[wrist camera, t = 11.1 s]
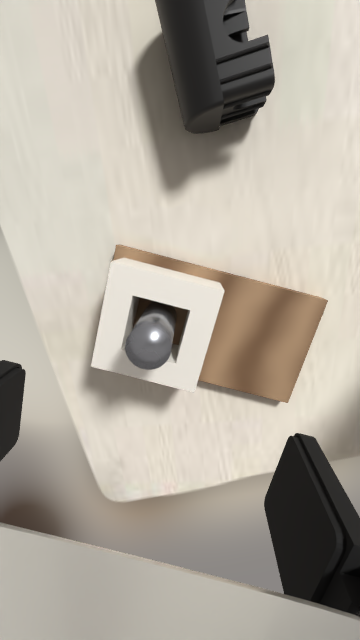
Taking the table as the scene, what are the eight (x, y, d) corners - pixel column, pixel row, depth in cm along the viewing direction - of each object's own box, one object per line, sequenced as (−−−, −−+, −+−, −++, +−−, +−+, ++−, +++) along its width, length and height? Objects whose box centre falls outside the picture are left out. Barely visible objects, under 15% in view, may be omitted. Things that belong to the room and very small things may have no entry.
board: (321, 297, 33) (327, 300, 31) (283, 396, 36) (287, 402, 34) (119, 244, 32) (116, 245, 31) (99, 349, 35) (95, 353, 34)
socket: (220, 282, 31) (224, 290, 27) (194, 370, 34) (194, 392, 29) (123, 257, 31) (110, 261, 26) (105, 347, 34) (90, 366, 29)
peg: (180, 304, 32) (175, 332, 22) (172, 334, 33) (165, 374, 23) (148, 296, 32) (130, 321, 22) (141, 327, 33) (121, 363, 23)
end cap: (157, 20, 27) (146, -48, 21) (237, -8, 26) (251, -88, 20) (186, 142, 30) (184, 116, 23) (260, 119, 29) (279, 86, 22)
